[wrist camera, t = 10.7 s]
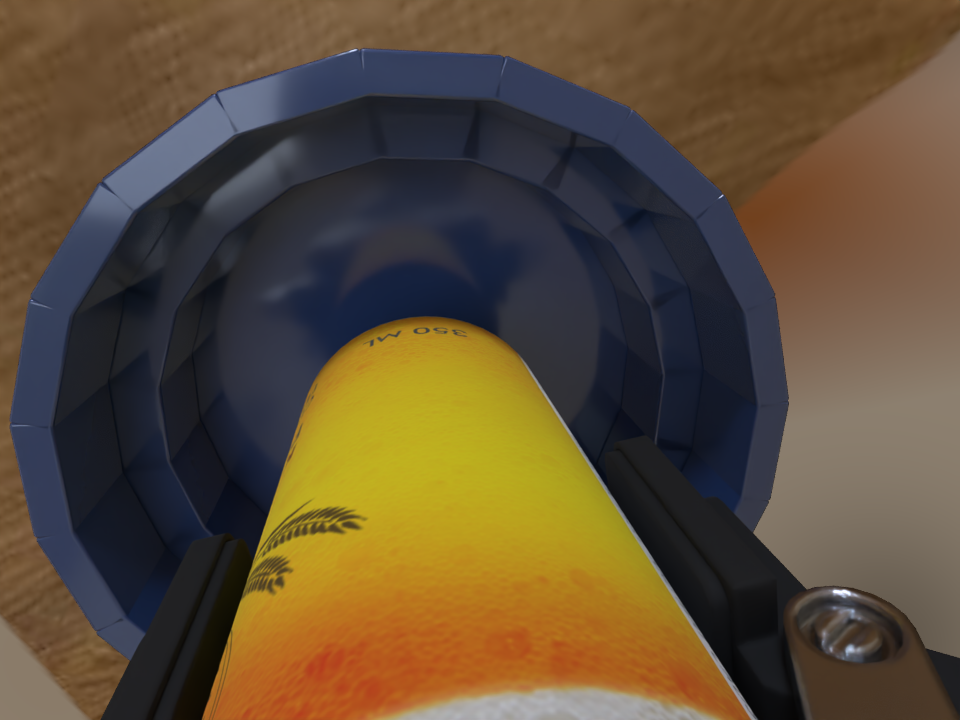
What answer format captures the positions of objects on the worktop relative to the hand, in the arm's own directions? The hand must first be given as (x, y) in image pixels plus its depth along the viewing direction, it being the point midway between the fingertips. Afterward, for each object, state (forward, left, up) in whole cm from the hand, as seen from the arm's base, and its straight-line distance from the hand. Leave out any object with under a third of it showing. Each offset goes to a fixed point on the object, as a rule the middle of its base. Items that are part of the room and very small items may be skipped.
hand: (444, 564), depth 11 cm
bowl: (0, 0, -9) cm, 9 cm away
